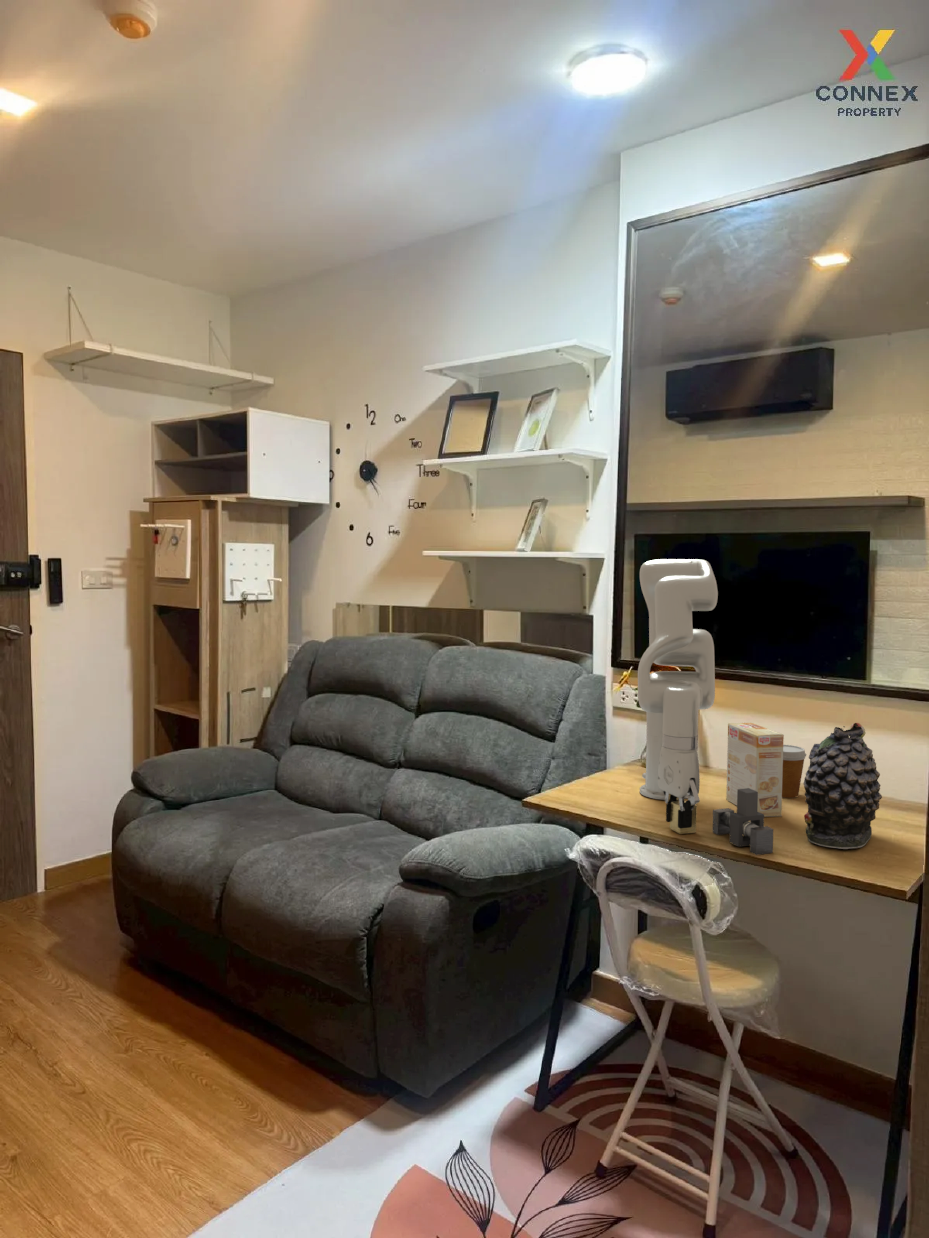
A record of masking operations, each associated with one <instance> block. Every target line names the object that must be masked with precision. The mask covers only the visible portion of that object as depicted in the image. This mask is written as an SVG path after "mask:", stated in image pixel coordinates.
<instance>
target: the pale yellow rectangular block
mask: <svg viewBox="0 0 929 1238" xmlns="http://www.w3.org/2000/svg"><path fill="white" fill-rule="evenodd" d="M686 801H687V800H684V803H685V802H686ZM697 808H698V805H697V804H695V806H694V809H693V810H692V827H690V828H681V829H680V828H678V810H680V803H679V800H678V801H675V802H671V818H670V822H669V829H670V830H672V831H674V832H676V833H677V834H680V835H682V834H685V835H686V834H694V833H696V832H697V812H698V809H697Z"/></svg>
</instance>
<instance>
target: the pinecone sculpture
mask: <svg viewBox="0 0 929 1238" xmlns="http://www.w3.org/2000/svg"><path fill="white" fill-rule="evenodd" d="M845 728H846V726H844V725H843V728H842V727H839V726H834V729H833V733H832V732H831V733H830V735H828V736H826V737H825V739H823V740H822V741H821V742H820V743H814V744H813V745H812V747H811V750H810V752H809V755H808V759H809V766H808V768H807V771H806V772H805V777H804V781H803V787H804V790H805V792H804V797H805V800H804V802H805V803H806V805H807V812H806V813H804V815H803V818H804V823H805V824H806V828H805V831H804V833H805V834H806V837H807V840H808V842H810V843H812V844H813V845H814V844H815V845H817V846H820V847H824V848H825V847H826V848H833V849H840V850H841V849H843V850H848V849H858V848H863V847H864V846H866V844H867V843H868V842H869V840H871V837H872V833H873V832H872V831H873V830H872V829H873V828H872V826H871V822H872V821H874V820H876V818H877V817H876V812H877V810H880V800H882V799H883V795H882V794H881V793H880V790H881V784H880V782H879V781H878V780H879V778H880V776H881V773H880V772H879V771H878V770H877V762H876V759H875V758H874V757H873V755H874V754H873V749H871V748H869V747H868V745H867V743H865V741H864V736H865V735H866V729H865V728H864V726H863V725H862V724H861V723H859V722H855V723H852V724H851V725H850V726H849V727H848V728H847V729H845ZM844 729H845V730H844Z"/></svg>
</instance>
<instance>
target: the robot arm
mask: <svg viewBox="0 0 929 1238" xmlns="http://www.w3.org/2000/svg"><path fill="white" fill-rule="evenodd" d="M639 582H640V583H639V584H640V587H641V593H642V594H643V598H644V600H645V604H646V607H647V610H648V617H649V618H648V628H649V629H648V631H649V633H648V635H649V636H648V638H649V639H648V640H649V643H648V647H647V648H646V650H645V651H644V652H643V654H642V656H641V657H640V661H639V663H638V668H637V700H638V703H639V704H638V705H639V707H640V709H641V710H642V711H644V712H645V714H646V715H645V716H646V745H645V746H646V753H645V755H646V761H645V763H646V764H645V767H646V769H645V772H643V773H642V775H641V777H642V778H643V779H645V784H642V785H641V786H640V787H639V793H640V794H641V795H642V796H644V797H646V798H650V799H654V800H659V801H661V800H662V801H664V802H665V804H666V805H665V809H666V810H665V811H666V812H665V820H666V821H665V822H667V823H670V818H671V802H675V801H679V803H680V810H678V828H680V829H681V828H690V827H692V810H693V809H694V806H695V805H697V804H698V803H700V802H701V800H700V797H699V793H700V779H701V778H700V775H701V774H700V764H699V763H700V762H699V760H700V759H699V754H698V750H699V710H708V709H710V708H711V707H712V706H713V705H714V704H715V703H714V702H715V697H716V679H715V677H716V675H715V674H716V672H715V667H716V666H715V662H716V661H715V644H714V639H713V637H712V634H711V633H710V632H709V631H707V630H706V629H702V628H699V629H698V628H694V627H693V612H698V611H699V612H709V611H713V610H714V609H715V608H716V606H717V603H718V596H719V591H718V584H717V580H716V577H715V574H714V571H713V568H712V566H711V563H710V562H709V561H707V560H705V559H698V558H695V559H694V558H693V559H692V558H691V559H690V558H688V559H685V558H677V559H676V558H668V559H667V558H660V559H659V558H658V559H652V560H647V561H646V562H643V563H642V565H640V569H639ZM653 664H655V665H658V666H664V667H665V666H666V667H667V666H668V667H691V668H692V667H693V668H694V669H695V671H680V670H677V671H676V670H670V671H668V670H662V671H653V672H651V669H652V668H651V667H652V665H653ZM686 799H687V800H686ZM684 801H686V802H685V803H684Z"/></svg>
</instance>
